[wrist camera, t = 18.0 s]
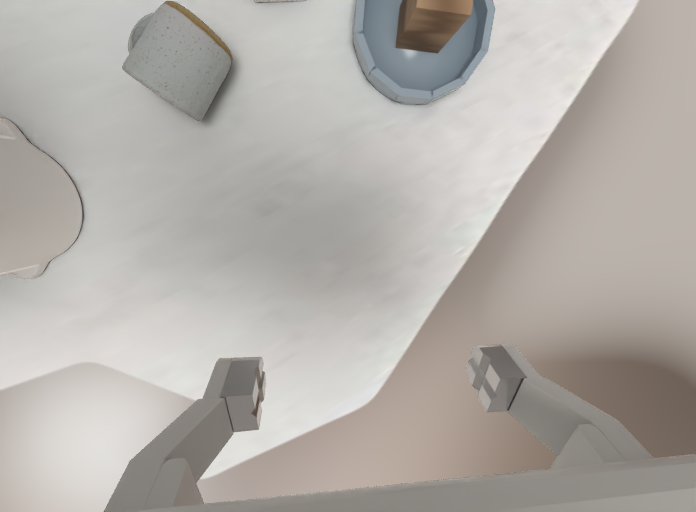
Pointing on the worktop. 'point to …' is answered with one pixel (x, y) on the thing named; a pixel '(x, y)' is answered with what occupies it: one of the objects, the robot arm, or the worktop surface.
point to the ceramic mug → (178, 58)
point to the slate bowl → (417, 53)
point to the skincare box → (276, 0)
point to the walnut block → (430, 23)
